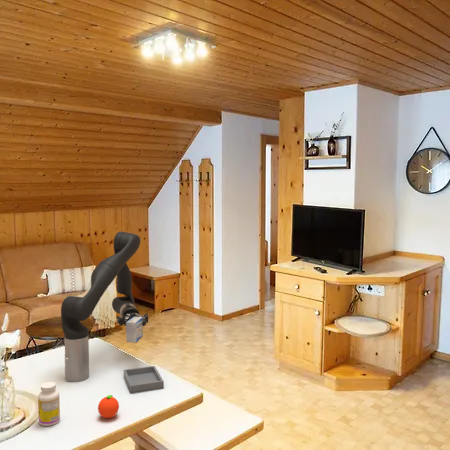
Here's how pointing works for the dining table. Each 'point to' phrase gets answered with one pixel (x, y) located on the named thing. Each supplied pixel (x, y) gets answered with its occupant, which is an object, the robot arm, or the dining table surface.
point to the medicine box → (134, 329)
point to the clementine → (108, 407)
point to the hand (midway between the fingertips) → (136, 324)
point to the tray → (143, 379)
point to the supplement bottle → (49, 404)
